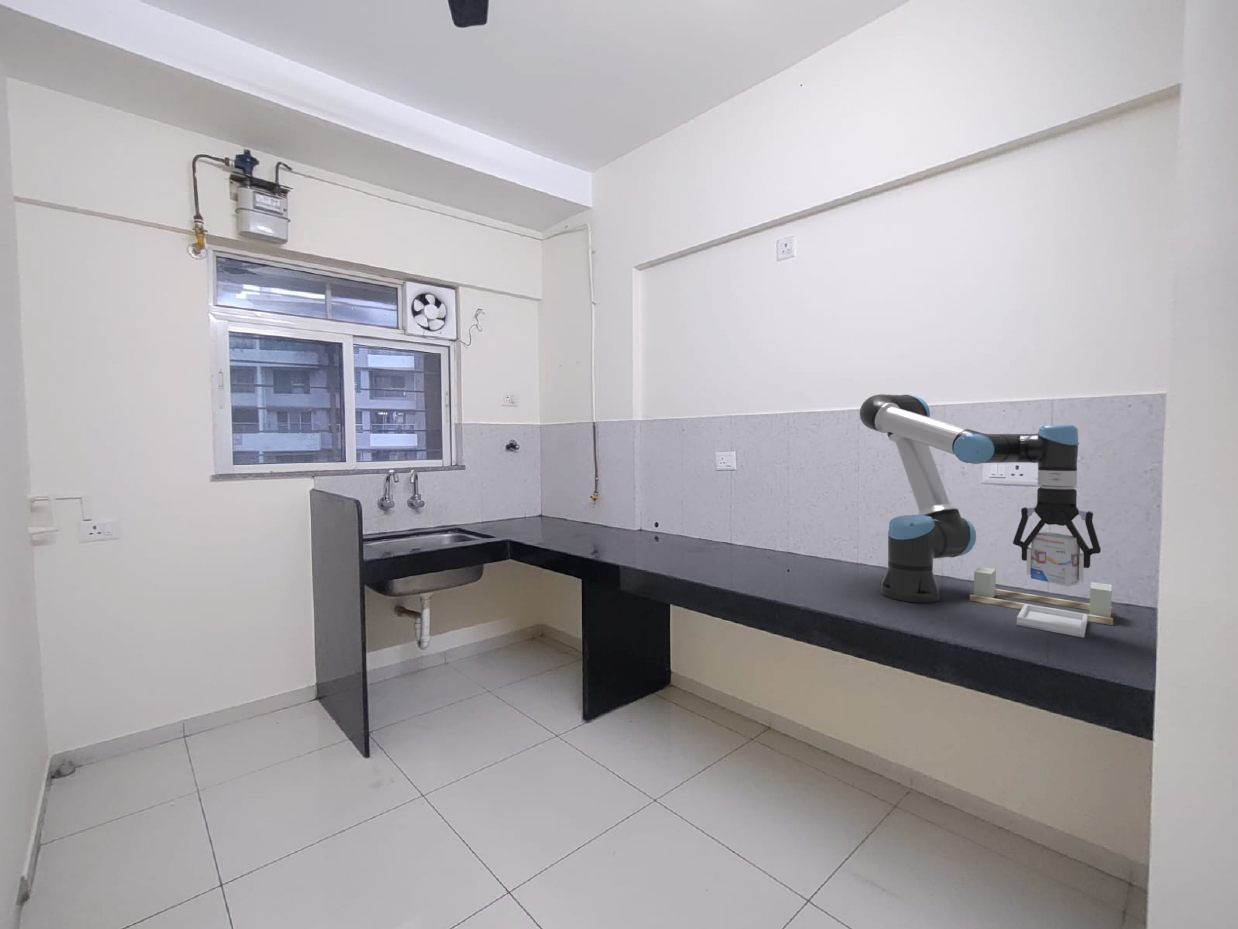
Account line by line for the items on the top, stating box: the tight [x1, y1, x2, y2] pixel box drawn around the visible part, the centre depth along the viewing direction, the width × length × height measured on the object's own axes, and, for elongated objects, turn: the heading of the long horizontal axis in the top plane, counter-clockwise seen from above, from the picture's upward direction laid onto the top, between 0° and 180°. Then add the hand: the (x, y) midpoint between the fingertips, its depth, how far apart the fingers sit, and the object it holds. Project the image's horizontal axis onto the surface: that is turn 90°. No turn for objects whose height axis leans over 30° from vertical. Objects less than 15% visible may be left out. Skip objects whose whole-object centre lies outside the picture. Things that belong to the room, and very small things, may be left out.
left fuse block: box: [973, 566, 997, 598], centre depth 154 cm, size 4×8×8 cm, turn 136°
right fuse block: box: [1088, 581, 1113, 618], centre depth 137 cm, size 4×8×8 cm, turn 136°
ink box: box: [1030, 531, 1081, 587], centre depth 131 cm, size 9×5×12 cm, turn 21°
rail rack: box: [969, 588, 1114, 626], centre depth 145 cm, size 30×13×2 cm, turn 46°
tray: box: [1016, 603, 1089, 639], centre depth 132 cm, size 13×15×2 cm
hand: (1054, 577), depth 131 cm, fingers closed on ink box, 9 cm apart
